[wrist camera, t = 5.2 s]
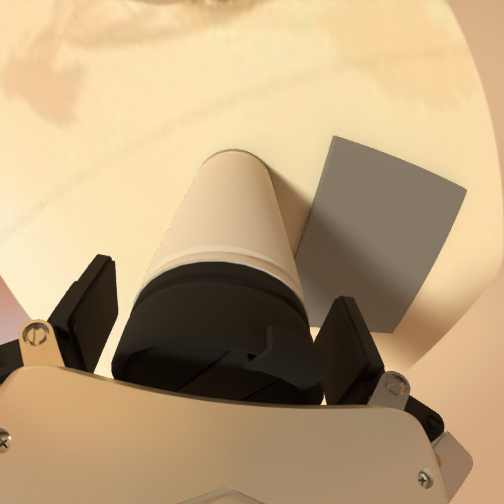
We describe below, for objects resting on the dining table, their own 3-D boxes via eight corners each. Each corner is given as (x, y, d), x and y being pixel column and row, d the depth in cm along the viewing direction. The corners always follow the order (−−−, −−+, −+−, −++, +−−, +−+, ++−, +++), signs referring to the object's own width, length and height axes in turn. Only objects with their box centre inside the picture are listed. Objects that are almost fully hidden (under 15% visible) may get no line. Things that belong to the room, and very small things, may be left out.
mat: (333, 135, 22) (336, 136, 21) (462, 187, 24) (467, 190, 23) (273, 317, 32) (274, 322, 31) (390, 328, 34) (392, 333, 33)
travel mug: (288, 176, 24) (382, 394, 7) (239, 231, 26) (236, 463, 9) (229, 130, 22) (172, 286, 5) (182, 190, 24) (81, 408, 7)
